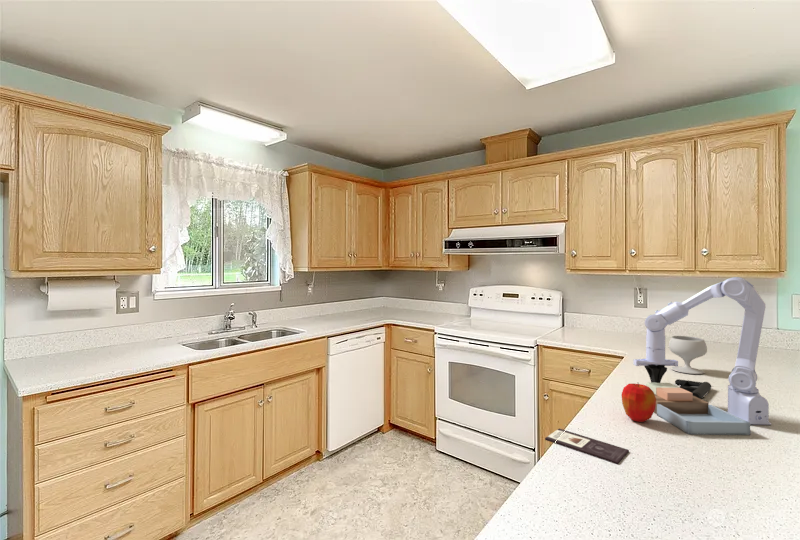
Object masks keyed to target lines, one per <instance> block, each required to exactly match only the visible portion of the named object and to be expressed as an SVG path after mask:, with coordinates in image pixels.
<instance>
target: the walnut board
mask: <svg viewBox="0 0 800 540" xmlns="http://www.w3.org/2000/svg"><path fill="white" fill-rule="evenodd" d="M654 395H655V397H656V405H655V410H654V412H653V414H656V415H657V404H661V405H662V406H664V407H666V408H668V409H670V410H671V411H673V412H675V413H677V414H708V405H710V403H709V402H708V401H706V400H705V399H703V398H701V399H700V398H697V397H695V396H693V401H667V400H665V399H663V398H661V397H660V396H658V395H656V394H654Z"/></svg>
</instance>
